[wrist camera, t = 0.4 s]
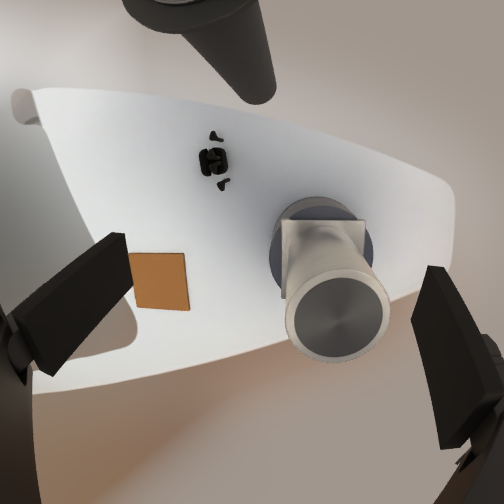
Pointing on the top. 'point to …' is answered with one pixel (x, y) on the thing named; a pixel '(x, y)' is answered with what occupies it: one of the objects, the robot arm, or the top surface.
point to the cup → (333, 298)
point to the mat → (160, 280)
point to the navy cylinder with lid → (308, 217)
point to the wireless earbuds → (214, 161)
